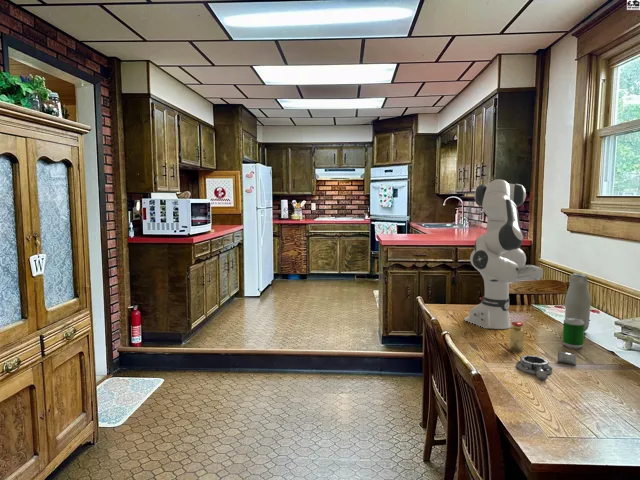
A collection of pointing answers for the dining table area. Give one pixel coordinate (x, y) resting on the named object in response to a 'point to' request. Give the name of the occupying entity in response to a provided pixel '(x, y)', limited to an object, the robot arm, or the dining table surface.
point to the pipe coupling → (567, 358)
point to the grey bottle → (578, 299)
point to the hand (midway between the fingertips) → (527, 279)
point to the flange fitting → (534, 366)
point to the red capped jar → (516, 337)
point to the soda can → (573, 332)
